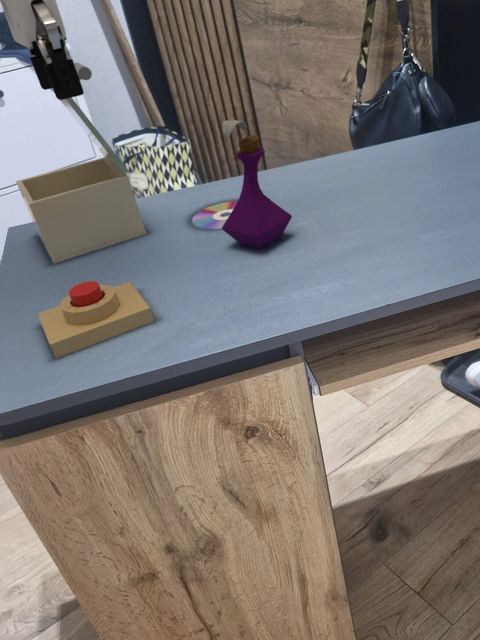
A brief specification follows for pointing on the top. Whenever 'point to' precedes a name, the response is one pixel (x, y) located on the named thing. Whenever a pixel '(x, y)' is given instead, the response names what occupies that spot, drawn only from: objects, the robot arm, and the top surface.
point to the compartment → (82, 208)
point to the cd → (213, 216)
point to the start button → (86, 294)
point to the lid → (87, 125)
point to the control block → (94, 319)
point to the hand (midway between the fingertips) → (62, 91)
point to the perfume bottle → (253, 199)
